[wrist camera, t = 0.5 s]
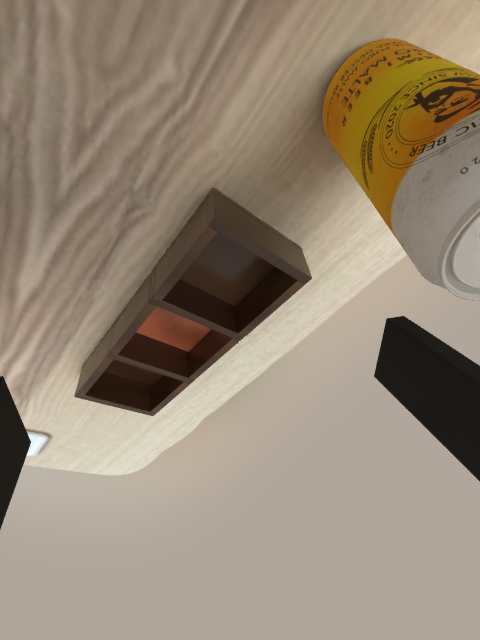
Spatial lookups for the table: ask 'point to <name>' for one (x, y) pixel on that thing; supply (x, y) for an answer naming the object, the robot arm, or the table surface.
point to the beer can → (414, 153)
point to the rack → (193, 307)
